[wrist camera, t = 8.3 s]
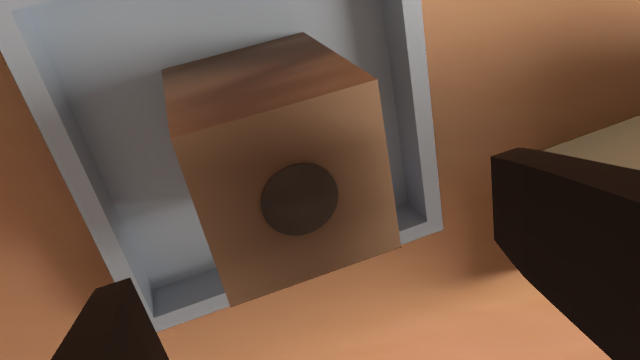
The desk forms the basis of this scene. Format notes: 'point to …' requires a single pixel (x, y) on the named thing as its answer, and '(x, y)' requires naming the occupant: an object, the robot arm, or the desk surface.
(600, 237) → the robot arm
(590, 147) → the oversize block
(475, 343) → the desk surface
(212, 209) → the block
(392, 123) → the tray
